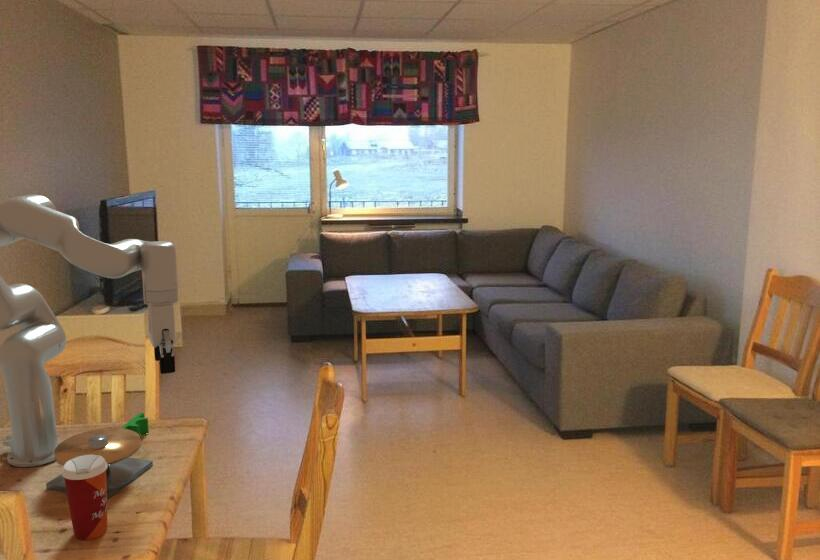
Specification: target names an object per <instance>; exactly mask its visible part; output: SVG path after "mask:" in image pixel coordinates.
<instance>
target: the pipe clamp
mask: <svg viewBox="0 0 820 560" xmlns="http://www.w3.org/2000/svg"><path fill="white" fill-rule="evenodd" d="M120 428H122V429H128V430H132V431H134V432H136V433H138V434H139V435H140V434H145V435H147V434H146V433H149V432H150V431H149V419H148V417H145V413H144V412H139V413H137V414H136V415H135V416H134V417H133V418H131V419H130V420H129V421H128V422H126V423H125V424H124V425H122V426H121V427H120ZM149 434H150V433H149ZM140 436H141V435H140Z"/></svg>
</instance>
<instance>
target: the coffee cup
mask: <svg viewBox="0 0 820 560" xmlns="http://www.w3.org/2000/svg"><path fill="white" fill-rule="evenodd" d="M107 467H108V464H107V463H106V462H105V459H104V458H103V457H102V456H99V455H83V456H79V457H76V458H73V459H71V460H69V461H67V462H66V463H65V465H64V466H63V469H62V470H61V474H62V476H63V477H64V480H65V486H66V492H65V493H66V497H67V501H68V508H69V515H70V519H71V520H70V521H71V525H72V530H73V534H74V535H73V536H74V537H75V539H77V540H80V541H91V540H95V539H98V538H100V537H102V536H103V535H104V534H106V532H108V531H107V530H108V503H107V502H108V499H107V486H106V469H107Z"/></svg>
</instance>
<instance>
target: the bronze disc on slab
mask: <svg viewBox="0 0 820 560" xmlns="http://www.w3.org/2000/svg"><path fill="white" fill-rule="evenodd" d="M60 442H61V443H60V444H59V445H58V446H57V447H56V449H55V459H56V460H55V461H56V463H57V464H59V465H61V466H63V467H64V465H65V463H66V462H67V461H69V460H71V459H73V458H76V457H79V456H83V455H99V456H102V457H103V458H104V459H105V462H106V463H107V464H108V467H107V469H106V486H107V500H109V499H110V498H112V497H113V496H114V495H115V494H117V493H119V492H120V491H121V490H122V489H123V488H125V487H127V486H128V485H129V484H131V483H132V482H133V481H134V480H135V479H137V478H139V476H141V475H143V474H144V473H145V472H147V471H148V470H149V469H150V468H152V467H153V466H154V464H153V460H148V459H142V458H135V457H132V456H133V455H134V454H136V453H137V452H138V451H140V448H141V447H142V446H141V445H142V438H141V435H139V434H138V433H136V432H134V431H132V430H128V429H122V428H121V427H112V428H111V427H108V428H107V427H106V428H99V429H92V430H88V431H83V432H80V433H78V434H75V435H72V436H70V437H68V438H66V439H64V440H63V441H60ZM45 486H46V490H52V491H57V492H58V491H59V492H64V493H67V492H66V486H65V480H64V477H63V476H62V473H60V474H59V475H58V476H56V477H54V478H52V479H51V480H49V481H48V482H47V483H45Z"/></svg>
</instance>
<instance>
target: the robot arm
mask: <svg viewBox="0 0 820 560" xmlns="http://www.w3.org/2000/svg"><path fill="white" fill-rule="evenodd" d="M79 223H80V222H79V221H78V218H76V217H74V216H72V215H70V214H66V213H64V212H61V211H58V210H57V207H56V206H55V204H54V203H53V202H52V201H51V200H50V199H49V198H48V197H46V196H44V195H40V194H36V193H34V194H33V193H32V194H25V195H20V196H19V195H18V196H13V197H10V198H7V199H5V200H2V202H1V203H0V248H2V247H6V246H9V245H12V244H14V243H16V242H19V241H20V240H23V239H25V240H27V241H30V242H33V243H35V244H38V245H41V246H43V247H46V248H47V249H51V250H54V251H56V252H59V254H60V255H61V256H62V257H63V258H64V259H65V260H66V261H68V262H69V263H70V264H71V265H73V266H75V267H77V268H78V269H81V270H83V271H86V272H88V273H91V274H94V275H97V276H100V277H103V278H107V279H120V278H123V277H125V276H127V275H129V274H132V273H134V272H137V271H141V277H142V292H143V293H142V294H143V303H144V304H145V305H147V315H148V316H147V317H148V321H147V322H148V339H149V342H150V344H151V346H152V347H153V349H154V350H153V351H154V360H155V361H156V362H159V372H160V374H161V375H165V374H174V373H175V372H176V360H175V358H176V357H175V352H174V347H173V346H175V345H176V324H175V323H176V322H175V307H174V304H176V303H178V302H179V289H178V288H179V287H178V283H179V282H178V268H177V267H178V265H177V250H176V249H177V248H176V246H175V244H174V243H172V242H170V241H162V240H161V241H160V240H159V241H156V240H154V241H147V240H142V239H137V238H125V239H122V240H119V241H116V242H113V243H105V242H103V241H101V240H97V239H95V238H93V237H91V236H88V235H86V234H85V233H83V232H82V231H81V230H80V224H79ZM15 327H18V329H19V330H18V331H16V332H14V333H12V334H10V335H9V336H8V337H6V338H5V339H4V340H3V341H2V343H0V371H1V372H2V376H3V379H4V384H5V390H6V398H7V403H8V404H7V405H8V413H9V421H10V430H11V433H9V434H7V435H6V437H5V440H3V441H2V446H3V447H9V449H10V451H9V452H8V454H7V457H6V459H7V463H8V464H9V465H11V466H14V467H18V468H30V467H31V468H32V467H38V466H43V465H45V464H50V463H52V462H53V461H56V459H55V449H56V447H57V446H58V445H59V444H60V443H61V442H62V441H59V440H58V433H57V422H56V414H55V403H54V393H53V387H52V386H53V385H52V382H51V378H50V376H49V373H48V372H47V370H46V368H45V364H46V363H48V362H49V361H50V360H53V359H54V358H55V357H58V355H60V354H61V353H62V352H63V351H64V350H65V348H66V345H67V336H66V333H65V331H64V328H63V326H62V324H61V323H60V321H59V320H58V318H57V317H56V315H55V313H54V312H53V310H52V309H51V307H50V306H49V304H48V303H47V300H46V299H45V298H44V296H43V295H42V294H41V293H40V291H39V290H37V289H36V288H34V287H33V286H32V285H29V284H27V283H13V284H10V285H8V284H7V283H6V281H5V280H4V279H3V277H2V275H1V274H0V332H6V331H7V330H10V329H13V328H15Z"/></svg>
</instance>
